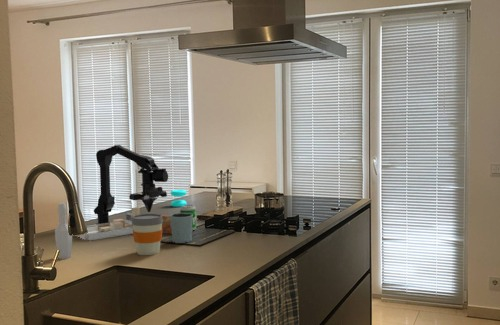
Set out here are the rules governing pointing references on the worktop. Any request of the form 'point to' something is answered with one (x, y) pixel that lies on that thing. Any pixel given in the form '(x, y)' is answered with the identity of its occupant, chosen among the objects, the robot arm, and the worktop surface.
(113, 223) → the beige block
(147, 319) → the worktop surface
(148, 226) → the reusable coffee cup
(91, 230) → the box
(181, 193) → the pair of cyan domes
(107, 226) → the board
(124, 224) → the salmon pink block
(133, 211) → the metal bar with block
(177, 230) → the blue-grey cup
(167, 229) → the tin
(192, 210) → the soda can
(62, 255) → the faceted bottle
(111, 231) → the rails
